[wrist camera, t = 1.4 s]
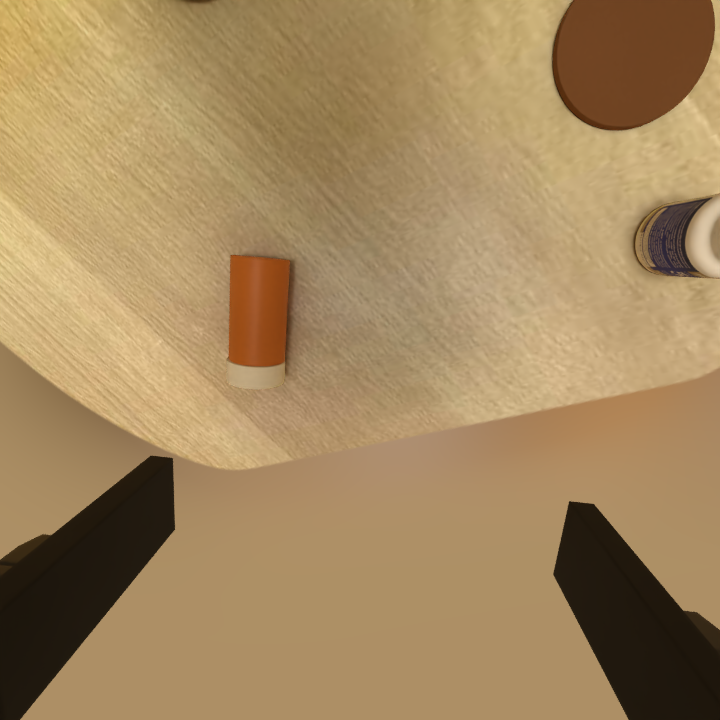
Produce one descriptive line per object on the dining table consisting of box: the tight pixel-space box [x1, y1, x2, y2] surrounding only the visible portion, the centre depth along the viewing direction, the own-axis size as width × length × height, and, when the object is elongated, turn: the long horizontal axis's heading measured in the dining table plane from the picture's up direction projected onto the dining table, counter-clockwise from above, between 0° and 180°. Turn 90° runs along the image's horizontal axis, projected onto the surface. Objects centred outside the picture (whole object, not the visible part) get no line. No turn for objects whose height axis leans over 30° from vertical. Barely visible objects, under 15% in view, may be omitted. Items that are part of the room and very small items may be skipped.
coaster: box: [553, 0, 715, 130], centre depth 28 cm, size 10×10×1 cm
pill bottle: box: [635, 194, 720, 279], centre depth 27 cm, size 5×5×9 cm
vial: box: [226, 255, 290, 390], centre depth 33 cm, size 10×5×5 cm, turn 175°
